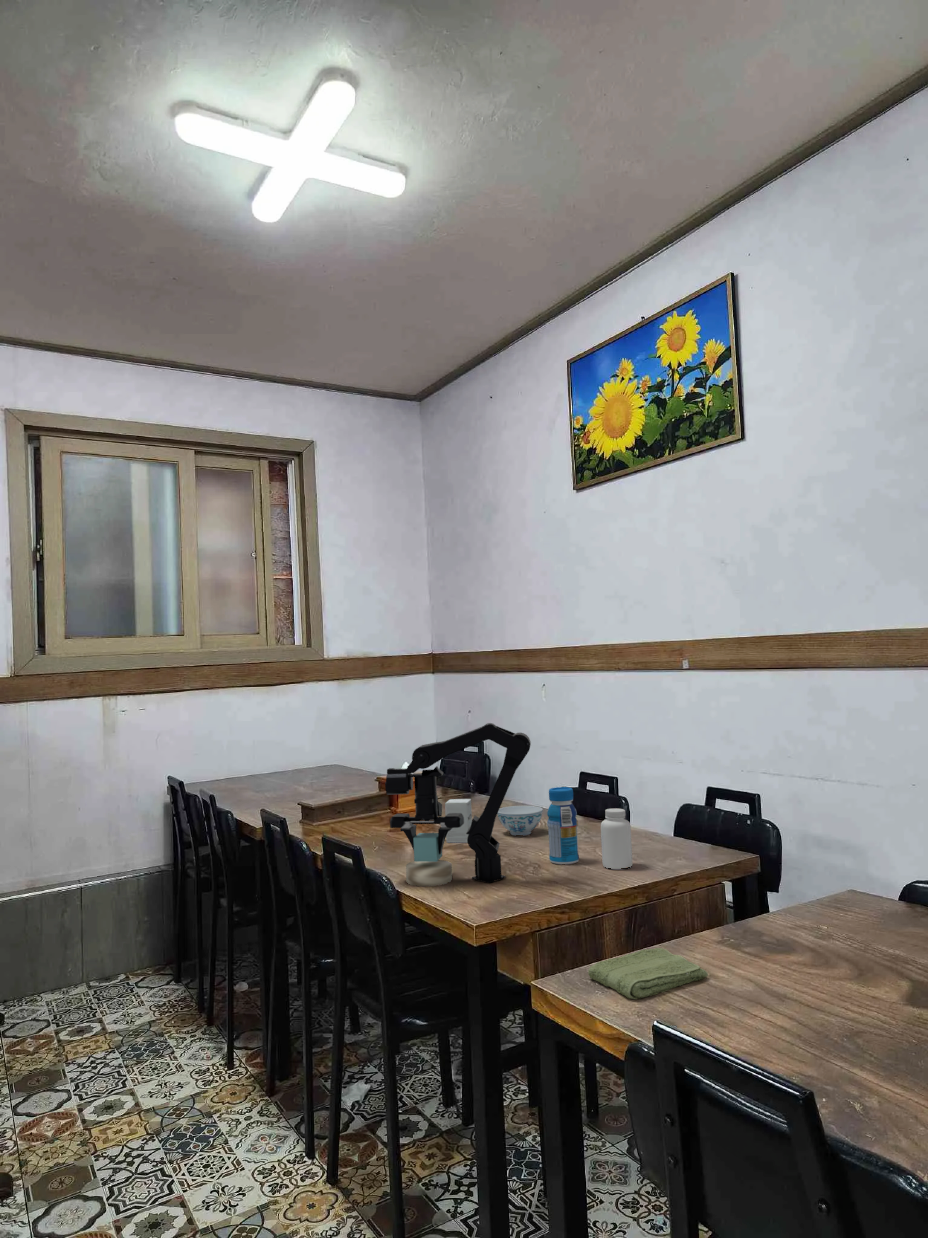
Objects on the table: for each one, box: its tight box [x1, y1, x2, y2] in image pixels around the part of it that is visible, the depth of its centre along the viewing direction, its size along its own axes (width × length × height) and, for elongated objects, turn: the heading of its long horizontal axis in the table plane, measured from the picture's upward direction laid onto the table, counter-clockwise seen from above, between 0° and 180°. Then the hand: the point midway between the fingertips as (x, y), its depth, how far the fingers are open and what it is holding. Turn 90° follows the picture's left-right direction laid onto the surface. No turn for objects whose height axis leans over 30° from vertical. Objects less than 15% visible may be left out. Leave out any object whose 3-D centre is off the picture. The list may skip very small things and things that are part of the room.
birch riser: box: [405, 859, 453, 887], centre depth 211 cm, size 12×12×4 cm
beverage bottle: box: [546, 786, 580, 865], centre depth 225 cm, size 8×8×20 cm
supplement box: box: [444, 798, 473, 844], centre depth 258 cm, size 7×7×13 cm
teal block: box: [413, 832, 443, 862], centre depth 211 cm, size 6×6×6 cm
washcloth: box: [587, 947, 709, 1000], centre depth 140 cm, size 13×18×3 cm
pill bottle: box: [600, 808, 633, 870], centre depth 217 cm, size 8×8×15 cm
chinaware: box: [497, 805, 544, 836], centre depth 264 cm, size 15×15×8 cm
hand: (428, 854), depth 211 cm, fingers closed on teal block, 6 cm apart
